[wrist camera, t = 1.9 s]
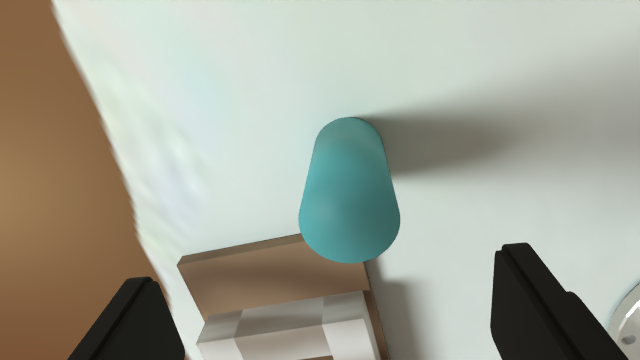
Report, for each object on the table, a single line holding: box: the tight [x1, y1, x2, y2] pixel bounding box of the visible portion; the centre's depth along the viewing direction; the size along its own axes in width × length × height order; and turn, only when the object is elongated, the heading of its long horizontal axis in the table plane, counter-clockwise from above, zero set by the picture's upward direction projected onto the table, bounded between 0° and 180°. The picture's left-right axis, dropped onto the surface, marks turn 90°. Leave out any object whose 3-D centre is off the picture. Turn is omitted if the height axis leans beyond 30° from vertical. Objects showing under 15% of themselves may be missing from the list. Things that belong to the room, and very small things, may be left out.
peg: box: [299, 117, 400, 263], centre depth 19 cm, size 4×4×8 cm
